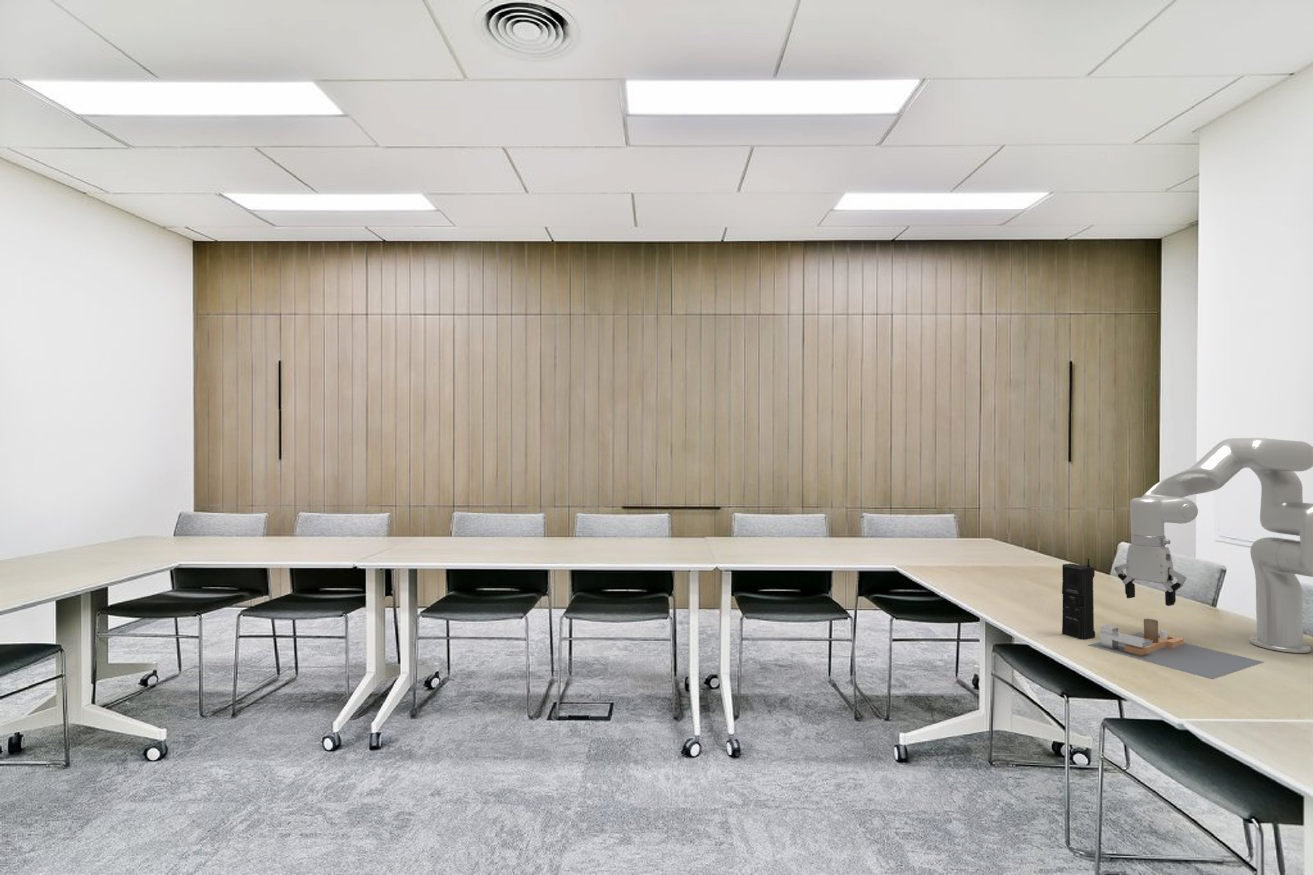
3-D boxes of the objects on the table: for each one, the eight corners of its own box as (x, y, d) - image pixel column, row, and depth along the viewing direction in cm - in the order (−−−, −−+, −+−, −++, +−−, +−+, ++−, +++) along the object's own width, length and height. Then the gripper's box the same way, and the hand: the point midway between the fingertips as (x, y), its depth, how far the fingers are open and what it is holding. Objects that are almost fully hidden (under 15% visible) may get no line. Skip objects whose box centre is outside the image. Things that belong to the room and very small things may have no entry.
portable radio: (1057, 637, 190) (1056, 556, 190) (1070, 635, 192) (1069, 554, 192) (1082, 645, 183) (1081, 560, 183) (1096, 642, 185) (1095, 559, 185)
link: (1155, 637, 184) (1154, 612, 185) (1184, 644, 178) (1183, 617, 178) (1118, 649, 174) (1118, 622, 174) (1147, 656, 168) (1147, 628, 168)
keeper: (1109, 648, 179) (1108, 624, 179) (1152, 660, 169) (1152, 634, 169) (1098, 651, 177) (1098, 626, 177) (1142, 663, 167) (1142, 637, 167)
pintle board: (1139, 637, 190) (1139, 620, 190) (1264, 667, 164) (1264, 648, 164) (1087, 650, 178) (1087, 632, 178) (1212, 685, 152) (1212, 664, 152)
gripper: (1191, 544, 170) (1193, 606, 170) (1121, 536, 186) (1123, 593, 185) (1176, 546, 167) (1179, 610, 167) (1107, 538, 182) (1109, 596, 182)
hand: (1149, 601), depth 176 cm, fingers open, 9 cm apart
